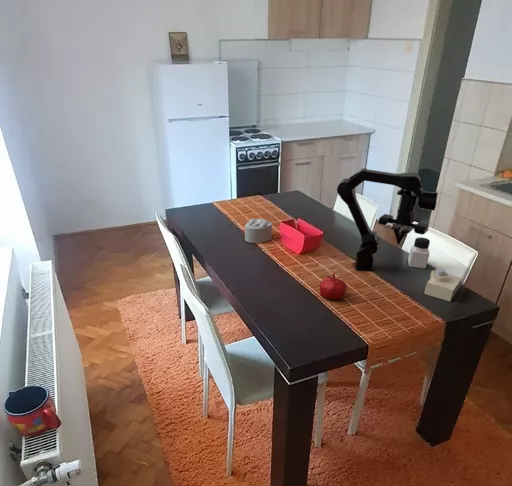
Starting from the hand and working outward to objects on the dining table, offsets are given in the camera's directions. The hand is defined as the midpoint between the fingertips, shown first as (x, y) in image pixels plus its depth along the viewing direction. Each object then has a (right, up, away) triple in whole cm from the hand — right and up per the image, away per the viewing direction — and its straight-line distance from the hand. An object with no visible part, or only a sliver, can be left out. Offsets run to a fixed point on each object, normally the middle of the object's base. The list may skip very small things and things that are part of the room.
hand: (398, 244), depth 191 cm
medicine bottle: (+12, -7, +15) cm, 21 cm away
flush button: (+13, -13, -8) cm, 20 cm away
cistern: (+15, -20, -6) cm, 25 cm away
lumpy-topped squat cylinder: (-58, +7, +33) cm, 67 cm away
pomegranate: (-29, -22, -13) cm, 39 cm away
